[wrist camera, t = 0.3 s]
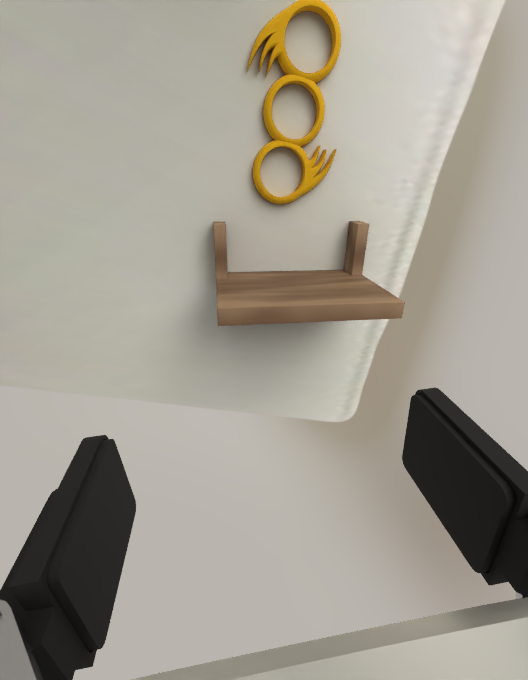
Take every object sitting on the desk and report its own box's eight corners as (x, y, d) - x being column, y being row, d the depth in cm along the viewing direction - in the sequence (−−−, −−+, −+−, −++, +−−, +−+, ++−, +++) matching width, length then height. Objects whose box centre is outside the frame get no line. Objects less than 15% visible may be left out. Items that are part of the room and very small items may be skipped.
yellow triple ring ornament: (366, 23, 31) (260, -16, 28) (373, 16, 29) (262, -26, 27) (316, 212, 37) (228, 192, 35) (320, 213, 36) (228, 192, 34)
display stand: (213, 221, 36) (213, 239, 25) (359, 221, 38) (417, 237, 27) (216, 285, 39) (217, 325, 28) (352, 281, 41) (401, 318, 30)
